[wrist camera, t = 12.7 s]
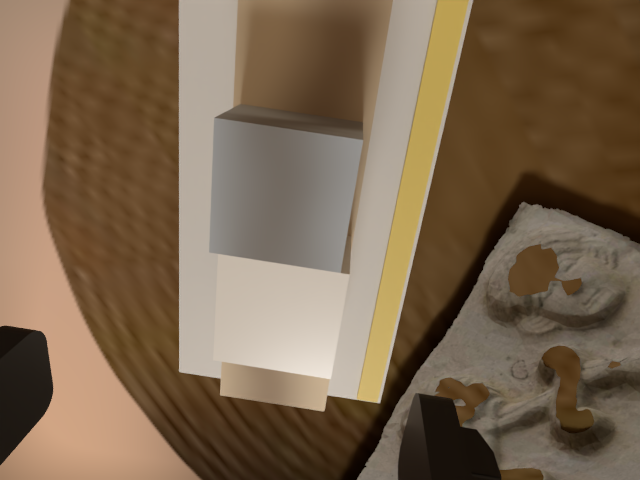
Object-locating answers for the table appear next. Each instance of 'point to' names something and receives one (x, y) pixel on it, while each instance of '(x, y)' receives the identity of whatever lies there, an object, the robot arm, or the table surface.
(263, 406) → the table surface
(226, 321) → the cream white block
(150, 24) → the table surface
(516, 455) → the stone relief
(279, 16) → the tan long block
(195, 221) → the white rectangular box
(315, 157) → the grey block
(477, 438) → the robot arm
